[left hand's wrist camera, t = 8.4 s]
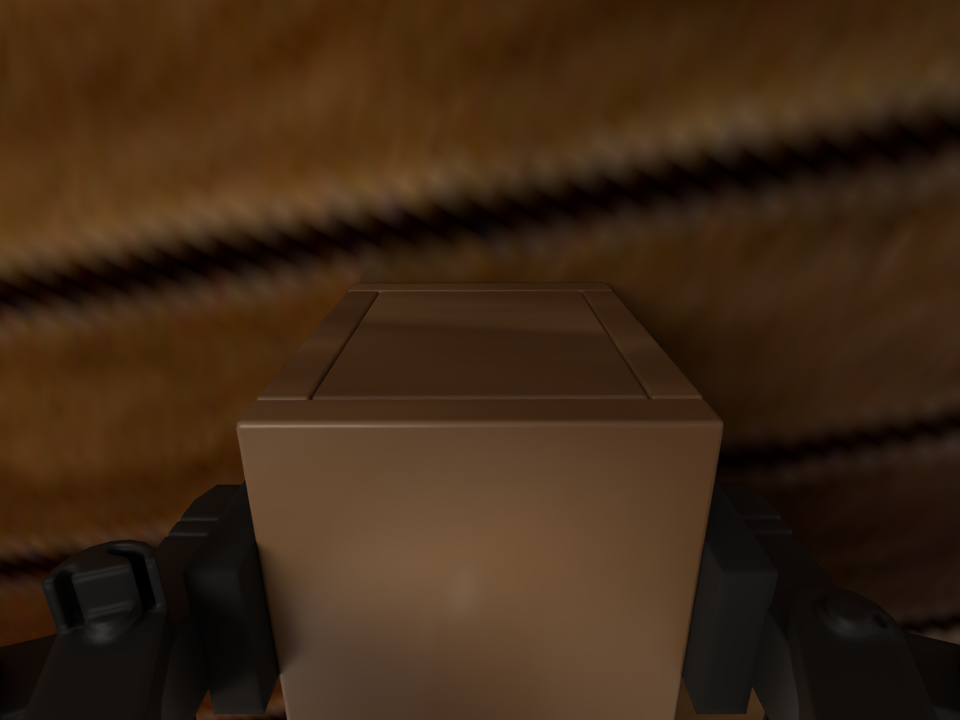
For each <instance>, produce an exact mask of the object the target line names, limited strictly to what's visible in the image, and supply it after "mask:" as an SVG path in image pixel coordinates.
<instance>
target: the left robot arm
mask: <svg viewBox="0 0 960 720" xmlns="http://www.w3.org/2000/svg"><path fill="white" fill-rule="evenodd" d="M780 517H781V516H780V515H779V514H778V512H777V511H776V510H775V509H774V507H773V506H772V505H771V504H770V502H769V501H768V500H767V499H766V498H765V497H764V496H762V495H761V494H759V493H758V492H756V491H755V490H753V489H752V488H750V487H749V486H747V485H746V484H744V483H717V481H716V480H715V481H714V487H713V493H712V499H711V505H710V511H709V517H708V523H707V529H706V535H705V540H704V546H703V552H702V558H701V564H700V570H699V576H698V582H697V588H696V594H695V600H694V606H693V612H692V618H691V624H690V630H689V636H688V642H687V647H686V653H685V659H684V665H683V671H682V677H683V679H684V682H685V685H686V687H687V690H688V693H689V695H690V698H691V701H692V703H693V706H694V709H695V711H696V714H746V711H747V707H748V702H749V698H750V694H751V689H752V686H753V688H754V690H755V692H756V694H757V696H758V698H759V700H760V702H761V704H762V706H763V708H764V710H765V715H764V719H763V720H960V645H958V644H954V643H950V642H946V641H941V640H937V639H933V638H928V637H924V636H920V635H916V634H912V633H908V632H905V631H902V630H901V629H900V628H899V626H898V625H897V623H896V622H895V620H894V619H893V617H892V616H890V615H889V614H888V613H887V612H886V611H884V610H883V609H882V608H881V607H880V606H878V605H877V604H876V603H874V602H872V601H871V600H869V599H867V598H865V597H863V596H861V595H859V594H858V593H855V592H852V591H849V590H846V589H843V588H840V587H837V586H835V584H834V583H833V582H832V581H831V579H830V578H829V577H828V576H827V574H826V573H825V572H824V571H823V569H822V568H821V567H820V566H819V564H818V563H817V562H816V560H815V559H814V558H813V557H812V555H811V554H810V553H809V552H808V550H807V549H806V548H805V547H804V545H803V544H802V543H801V542H800V540H799V539H798V538H797V536H796V535H793V534H792V530H791V529H790V528H789V526H788V525H787V524H786V523H785V521H784V520H781V518H780ZM41 584H42V587H43V590H44V593H45V596H46V599H47V602H48V605H49V608H50V610H51V613H52V616H53V619H54V622H55V625H56V628H57V631H58V633H57V634H54V635H50V636H47V637H42V638H38V639H34V640H30V641H25V642H21V643H17V644H13V645H8V646H4V647H0V720H197V719H196V713H197V711H198V709H199V707H200V705H201V703H202V701H203V699H204V696H205V694H206V692H207V690H208V688H209V691H210V695H211V699H212V704H213V708H214V712H215V714H264V713H265V710H266V708H267V705H268V702H269V700H270V697H271V694H272V692H273V689H274V686H275V684H276V681H277V678H278V676H279V669H278V664H277V658H276V652H275V646H274V641H273V635H272V629H271V624H270V618H269V612H268V606H267V601H266V595H265V589H264V583H263V578H262V572H261V566H260V560H259V555H258V549H257V543H256V537H255V532H254V526H253V520H252V514H251V509H250V503H249V497H248V491H247V486H246V480H245V481H244V482H243V484H242V485H216V486H215V487H213V488H212V489H210V490H209V491H207V492H206V493H205V494H203V495H202V496H200V497H199V498H197V499H196V500H194V502H193V503H192V504H191V506H190V507H189V508H188V509H187V511H186V512H185V513H184V514H183V516H182V517H181V520H180V522H177V523H176V525H175V526H174V527H173V528H172V530H171V531H170V532H169V536H168V537H165V539H164V540H163V541H162V542H161V544H160V545H159V546H158V548H157V549H156V550H155V551H154V549H153V548H152V547H150V546H149V545H148V544H147V543H145V542H140V541H135V540H120V541H110V542H107V543H103V544H100V545H96V546H93V547H90V548H88V549H85V550H83V551H81V552H79V553H77V554H75V555H73V556H71V557H69V558H68V559H66V560H65V561H64V562H62V563H61V564H60V565H58V566H57V567H55V568H54V569H53V570H52V571H51V572H50V573H49V575H48V576H47V577H46V578H45V580H44V581H43V582H42V583H41Z"/></svg>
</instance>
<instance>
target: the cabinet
mask: <svg viewBox="0 0 960 720" xmlns="http://www.w3.org/2000/svg"><path fill="white" fill-rule="evenodd" d="M236 428H237V434H238V440H239V445H240V451H241V457H242V463H243V468H244V474H245V480H246V486H247V491H248V497H249V503H250V509H251V514H252V520H253V526H254V532H255V537H256V543H257V549H258V555H259V560H260V566H261V572H262V578H263V583H264V589H265V595H266V601H267V606H268V612H269V618H270V624H271V629H272V635H273V641H274V646H275V652H276V658H277V664H278V669H279V675H280V681H281V687H282V692H283V698H284V704H285V710H286V715H287V720H674V719H675V713H676V707H677V701H678V695H679V689H680V683H681V677H682V671H683V665H684V659H685V653H686V647H687V642H688V636H689V630H690V624H691V618H692V612H693V606H694V600H695V594H696V588H697V582H698V576H699V570H700V564H701V558H702V552H703V546H704V540H705V535H706V529H707V523H708V517H709V511H710V505H711V499H712V493H713V487H714V481H715V475H716V469H717V463H718V457H719V451H720V445H721V439H722V434H723V428H724V424H723V421H722V419H721V418H720V417H719V416H718V415H717V414H716V412H715V411H714V410H713V409H712V408H711V406H710V405H709V404H708V403H707V402H706V401H704V400H703V397H702V395H701V394H700V393H699V392H698V390H697V389H696V388H695V387H694V386H693V385H692V383H691V382H690V381H689V380H688V379H687V378H686V376H685V375H684V374H683V373H682V372H681V371H680V369H679V368H678V367H677V366H676V365H675V364H674V362H673V361H672V360H671V359H670V358H669V356H668V355H667V354H666V353H665V352H664V351H663V349H662V348H661V347H660V346H659V345H658V344H657V342H656V341H655V340H654V339H653V338H652V337H651V335H650V334H649V333H648V332H647V331H646V330H645V328H644V327H643V326H642V325H641V324H640V323H639V321H638V320H637V319H636V318H635V317H634V316H633V314H632V313H631V312H630V311H629V310H628V309H627V307H626V306H625V305H624V304H623V303H622V302H621V300H620V299H619V298H618V297H617V296H616V295H615V293H614V292H613V291H612V289H611V288H610V287H609V286H608V285H607V284H606V283H355V284H354V285H353V286H352V287H351V288H350V289H349V290H348V292H347V293H346V294H345V295H344V297H343V298H342V299H341V300H340V301H339V302H338V304H337V305H336V306H335V307H334V308H333V309H332V311H331V312H330V313H329V314H328V315H327V316H326V318H325V319H324V320H323V321H322V322H321V323H320V325H319V326H318V327H317V328H316V329H315V330H314V332H313V333H312V334H311V335H310V336H309V337H308V339H307V340H306V341H305V342H304V343H303V344H302V346H301V347H300V348H299V349H298V350H297V351H296V353H295V354H294V355H293V356H292V357H291V358H290V360H289V361H288V362H287V363H286V364H285V365H284V367H283V368H282V369H281V370H280V371H279V372H278V374H277V375H276V376H275V377H274V378H273V379H272V381H271V382H270V383H269V384H268V385H267V386H266V388H265V389H264V390H263V391H262V392H261V393H260V395H259V396H258V397H257V401H255V402H254V403H253V404H252V405H251V406H250V407H249V409H248V410H247V411H246V412H245V413H244V414H243V416H242V417H241V418H240V419H239V420H238V422H237V425H236Z"/></svg>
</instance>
